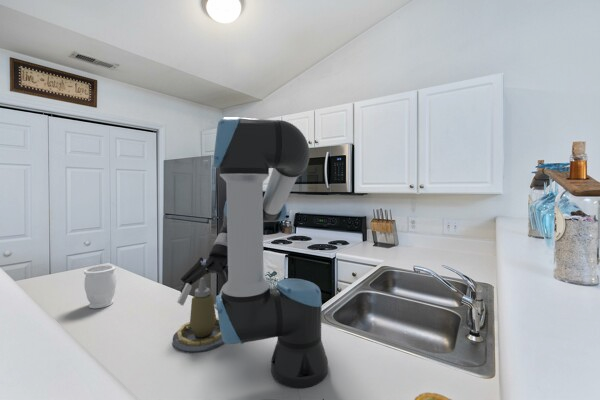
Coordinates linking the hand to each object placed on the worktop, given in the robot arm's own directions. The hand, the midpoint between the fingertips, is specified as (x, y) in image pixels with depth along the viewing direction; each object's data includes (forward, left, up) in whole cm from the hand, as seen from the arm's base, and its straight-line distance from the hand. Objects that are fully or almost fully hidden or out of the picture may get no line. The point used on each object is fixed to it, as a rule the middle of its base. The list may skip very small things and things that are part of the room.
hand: (198, 306), depth 89 cm
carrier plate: (+1, -2, -11) cm, 11 cm away
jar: (+56, +4, -11) cm, 57 cm away
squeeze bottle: (+1, -2, -10) cm, 10 cm away
